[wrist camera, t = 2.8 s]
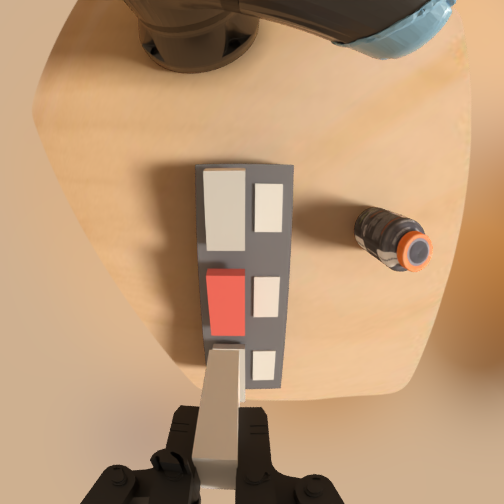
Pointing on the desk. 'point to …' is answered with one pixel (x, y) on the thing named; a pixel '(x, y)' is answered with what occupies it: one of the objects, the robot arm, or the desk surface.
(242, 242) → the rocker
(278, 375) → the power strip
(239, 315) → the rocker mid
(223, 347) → the block
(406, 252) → the pill bottle
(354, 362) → the desk surface
